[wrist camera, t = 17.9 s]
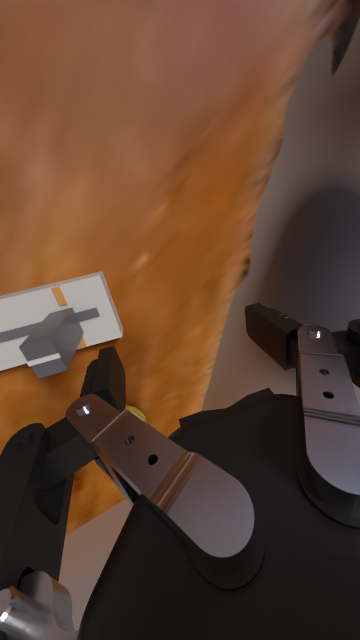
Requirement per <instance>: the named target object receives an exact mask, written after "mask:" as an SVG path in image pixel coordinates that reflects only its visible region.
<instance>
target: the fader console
mask: <svg viewBox="0 0 360 640" xmlns="http://www.w3.org/2000/svg"><path fill="white" fill-rule="evenodd" d="M72 307H73V310H74V312H75V314H76V315H77V318H78V320H79V323H80V325H81V327H82V329H83V332H84V334H83V336H82V338H81V341H80V343H79V345H78V348H77V349H81V348H84V347H88V346H91V345H95V344H98V343H102V342H105V341H109V340H113V339H116V338H120V337H122V335H123V327H122V325H121V322H120V319H119V316H118V313H117V311H116V308H115V305H114V302H113V300H112V297H111V294H110V291H109V288H108V286H107V283H106V280H105V277H104V275H103V272H102V271H100V272H96V273H92V274H88V275H84V276H80V277H76V278H72V279H68V280H64V281H59V282H55V283H51V284H47V285H43V286H39V287H35V288H31V289H27V290H22V291H18V292H14V293H10V294H6V295H2V296H0V371H1V370H5V369H8V368H12V367H16V366H19V365H23V364H26V363H27V362H28V361H27V360H26V358H25V357H24V355H23V353H22V352H21V350H20V349H19V346H20V345H21V344H22V343H23V342H24V341H25V339H26V338H27V337H28V336H29V335H30V334H31V333H32V332H33V331H34V330H35V329H36V328H37V326H38V325H39V324H40V323H41V322H42V321H43V320H44V319H45V318H46V317H47V316H48V314H49V313H52V312H56V311H60V310H64V309H68V308H72Z"/></svg>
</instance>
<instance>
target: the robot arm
mask: <svg viewBox="0 0 360 640" xmlns="http://www.w3.org/2000/svg"><path fill="white" fill-rule="evenodd" d="M245 317H246V329H247V333H248V335H249V337H250V338H251V339H252V340H253V341H254V342H255V343H256V344H257V345H258V346H259V347H261V349H263V350H264V351H265V352H266V353H267V354H268V355H269V356H270V357H271V358H272V359H273V360H275V361H276V362H277V363H278V364H279V365H280V366H281V367H282V368H283V369H284V370H288V369H291V368H295V369H296V396H294V395H288V394H273V392H272V391H271V390H270V389H269V388H267V389H264V390H261V391H258V392H256V393H253V394H250V395H247V396H246V397H244V398H242V399H241V400H240V401H238V402H236V403H235V404H233V405H232V406H230V407H228V408H225V409H217V410H208V411H201V412H198V413H195V414H192V415H189V416H187V417H184V418H181V419H179V422H180V426H181V427H180V428H178V429H177V430H176V431H174V432H173V433H172V434H171V435H170V436H169V437H168V438H167V437H166V436H165V435H163V434H162V433H160V432H159V431H157V430H156V429H154V428H153V427H151V426H150V425H149V424H147V423H146V422H144V421H143V420H141V419H140V418H138V417H137V416H135V415H134V414H133V413H131V412H130V411H128V410H126V385H125V372H124V368H123V365H122V363H121V361H120V358H119V356H118V353H117V351H116V348H115V347H114V345H113V346H109V347H106V348H103V349H100V351H99V356H98V359H96V360H93V361H92V362H91V363H90V365H89V366H88V367H87V371H86V375H85V379H84V380H85V381H84V383H83V386H82V390H81V394H80V398H79V399H77V400H76V401H74V402H73V403H72V404H71V405H70V407H69V408H68V409H67V412H66V417H65V418H64V419H62V420H60V421H59V422H57V423H55V424H53V425H51V426H50V427H48V428H45V427H44V425H43V424H41V423H34V424H30V425H28V426H26V427H24V428H22V429H21V430H19V431H18V432H17V433H16V434H14V435H13V436H12V437H11V438H10V440H9V441H8V442H7V444H6V445H5V447H4V449H3V451H2V453H1V455H0V640H360V406H359V403H358V400H357V396H356V393H355V390H354V387H353V383H354V384H355V385H356V386H358V387H359V388H360V319H356V320H352V321H350V322H349V323H348V328H347V330H346V331H336V332H331V331H330V329H328V328H326V327H324V326H320V325H303V324H301V323H299V322H297V321H295V320H294V319H292V318H290V317H288V316H287V315H285V314H283V313H282V312H280V311H278V310H275V309H271V308H267V307H265V306H263V305H262V304H260V303H255V304H252V305H249V306H246V307H245ZM352 382H353V383H352ZM92 460H94V461H95V462H96V463H97V464H98V466H99V467H100V468H101V469H102V470H103V471H104V472H105V473H106V475H107V476H108V477H109V478H110V479H111V480H112V481H113V482H114V484H115V485H116V486H117V487H118V488H119V490H120V491H121V492H122V494H123V495H124V496H125V498H126V499H127V500H128V501H129V503H130V504H131V505H132V506H133V507H132V509H131V511H130V513H129V516H128V518H127V519H126V522H125V524H124V526H123V528H122V530H121V532H120V534H119V536H118V539H117V541H116V543H115V545H114V547H113V549H112V552H111V553H110V556H109V558H108V560H107V562H106V564H105V566H104V569H103V570H102V573H101V575H100V577H99V579H98V581H97V583H96V585H95V588H94V590H93V592H92V594H91V596H90V598H89V601H88V604H87V606H86V609H85V612H84V615H83V618H82V621H81V625H80V629H79V630H78V631H76V632H75V630H74V626H73V621H72V600H71V596H70V593H69V591H68V589H67V588H66V587H65V586H63V585H62V584H61V583H59V582H58V580H59V573H60V566H61V559H62V553H63V546H64V539H65V533H66V526H67V519H68V512H69V505H70V498H71V491H72V485H73V478H74V472H76V471H77V470H79V469H80V468H82V467H83V466H85V465H86V464H88V463H89V462H91V461H92Z"/></svg>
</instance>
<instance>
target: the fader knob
mask: <svg viewBox="0 0 360 640" xmlns="http://www.w3.org/2000/svg"><path fill="white" fill-rule="evenodd" d="M83 334H84V332H83V329H82V327H81V325H80V323H79V320H78V318H77V315H76V314H75V312H74V310H73V307H72V308H68V309H64V310H60V311H56V312H52V313H49V314H48V316H47V317H46V318H45V319H44V320H43V321H42V322H41V323H40V324H39V325H38V326H37V328H36V329H35V330H34V331H33V332H32V333H31V334H30V335H29V336H28V337H27V338H26V339H25V341H24V342H23V343H22V344H21V345H20V346H19V349H20V350H21V352H22V353H23V355H24V357H25V358H26V360H27V361H28V362H27V364H28V366H31V368H32V369H33V371H34V372H35V374H36V376H37V377H38V379H39V378H43V377H46V376H50V375H53V374H57V373H60V372H64V371H67V370H68V368H69V366H70V364H71V361H72V359H73V357H74V354H75V352H76V350H77V348H78V345H79V343H80V341H81V338H82V336H83Z"/></svg>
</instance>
